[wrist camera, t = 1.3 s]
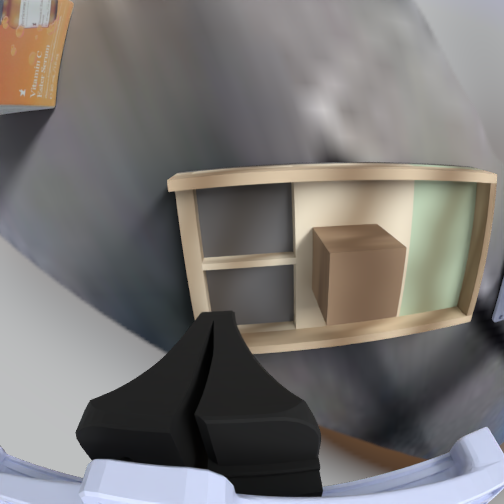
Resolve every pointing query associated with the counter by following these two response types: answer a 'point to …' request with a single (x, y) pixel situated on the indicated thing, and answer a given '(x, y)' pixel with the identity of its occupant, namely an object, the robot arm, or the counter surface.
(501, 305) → the robot arm
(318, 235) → the walnut block
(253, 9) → the counter surface
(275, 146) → the counter surface
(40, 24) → the small box
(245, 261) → the tray
